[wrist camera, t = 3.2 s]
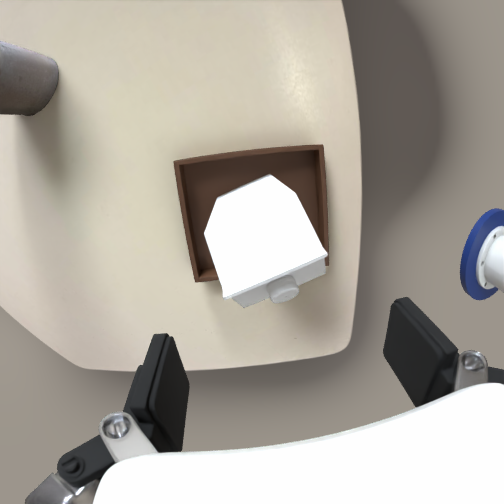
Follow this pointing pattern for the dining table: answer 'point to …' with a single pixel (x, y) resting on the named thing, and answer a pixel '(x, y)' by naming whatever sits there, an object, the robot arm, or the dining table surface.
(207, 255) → the tray
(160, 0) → the dining table surface
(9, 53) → the pillar candle
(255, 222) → the milk carton
